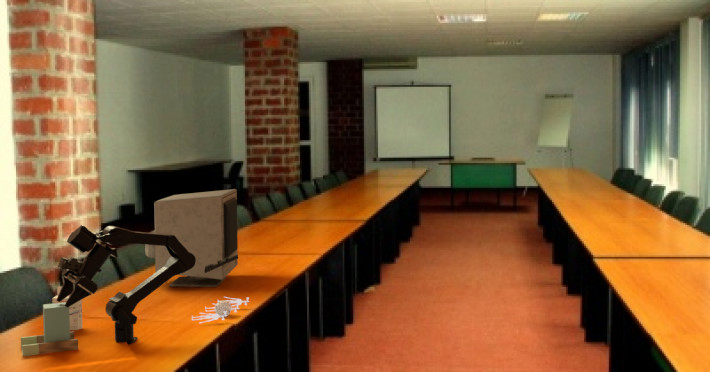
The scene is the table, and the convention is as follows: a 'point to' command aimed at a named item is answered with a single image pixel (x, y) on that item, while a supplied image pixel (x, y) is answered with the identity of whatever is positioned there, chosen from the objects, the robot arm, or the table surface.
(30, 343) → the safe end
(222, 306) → the molecule model
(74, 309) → the ink cartridge box
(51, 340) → the block
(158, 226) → the crt monitor
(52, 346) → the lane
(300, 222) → the table surface
